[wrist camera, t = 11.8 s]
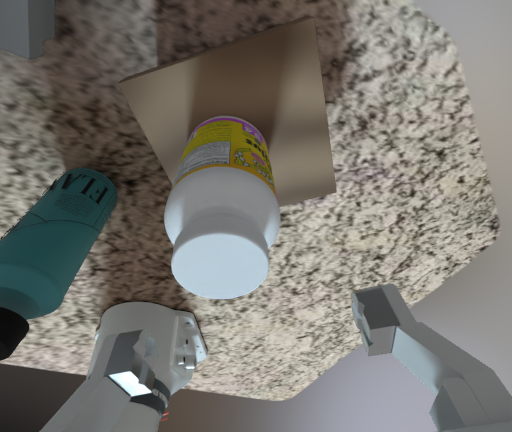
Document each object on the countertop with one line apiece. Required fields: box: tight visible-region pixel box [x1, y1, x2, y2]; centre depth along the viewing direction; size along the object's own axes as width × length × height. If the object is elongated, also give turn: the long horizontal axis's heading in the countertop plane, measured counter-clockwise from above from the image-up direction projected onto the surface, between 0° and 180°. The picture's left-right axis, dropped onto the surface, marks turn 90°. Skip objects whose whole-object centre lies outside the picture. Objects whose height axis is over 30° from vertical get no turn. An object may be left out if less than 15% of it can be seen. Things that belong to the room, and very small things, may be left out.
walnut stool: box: [118, 16, 337, 207], centre depth 27 cm, size 14×14×8 cm
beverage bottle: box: [0, 168, 118, 361], centre depth 26 cm, size 6×7×20 cm
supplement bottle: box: [164, 116, 280, 299], centre depth 19 cm, size 7×7×13 cm
